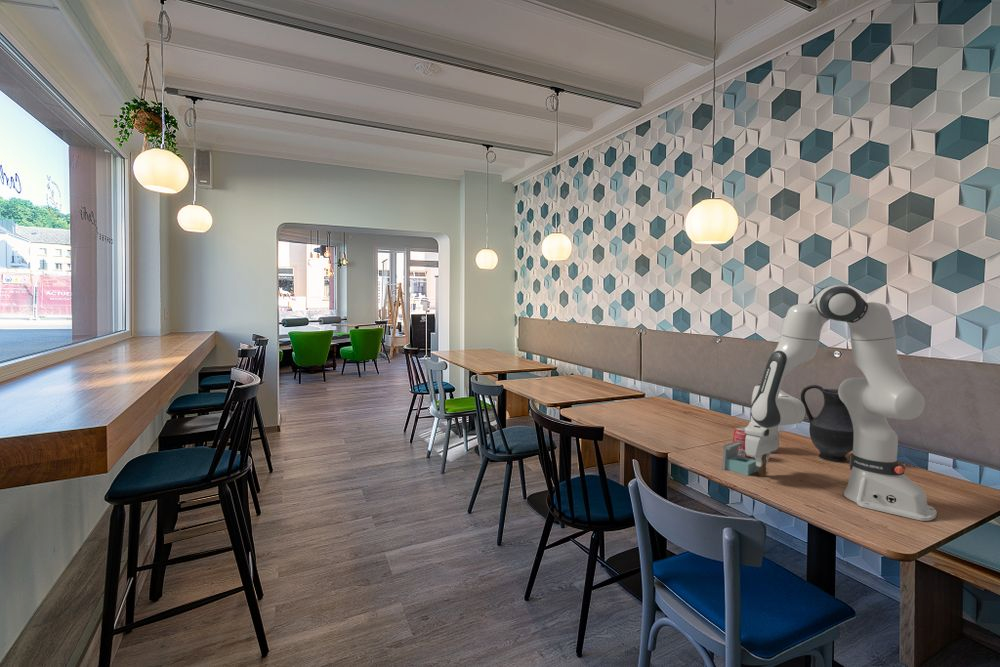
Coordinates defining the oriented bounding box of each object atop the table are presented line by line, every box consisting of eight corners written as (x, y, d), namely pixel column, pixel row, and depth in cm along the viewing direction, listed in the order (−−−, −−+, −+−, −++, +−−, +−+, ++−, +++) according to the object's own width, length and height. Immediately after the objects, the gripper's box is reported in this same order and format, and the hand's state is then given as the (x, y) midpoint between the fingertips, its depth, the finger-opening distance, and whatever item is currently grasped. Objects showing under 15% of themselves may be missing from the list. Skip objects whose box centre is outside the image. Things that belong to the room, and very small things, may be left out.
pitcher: (860, 468, 182) (866, 392, 180) (797, 458, 192) (801, 386, 191) (855, 457, 196) (860, 386, 195) (796, 448, 207) (800, 381, 205)
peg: (766, 476, 171) (768, 449, 170) (763, 477, 169) (765, 450, 169) (759, 474, 173) (760, 447, 172) (755, 475, 171) (757, 448, 171)
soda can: (747, 455, 195) (748, 427, 194) (754, 460, 188) (756, 431, 187) (729, 454, 196) (731, 426, 195) (736, 459, 189) (738, 430, 188)
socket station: (758, 470, 177) (759, 447, 176) (746, 476, 170) (747, 451, 170) (734, 464, 184) (735, 441, 183) (722, 469, 177) (723, 445, 177)
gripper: (766, 421, 179) (764, 457, 180) (742, 429, 166) (740, 467, 167) (784, 425, 174) (782, 461, 175) (761, 433, 161) (759, 472, 162)
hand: (761, 464), depth 171 cm, fingers open, 3 cm apart
